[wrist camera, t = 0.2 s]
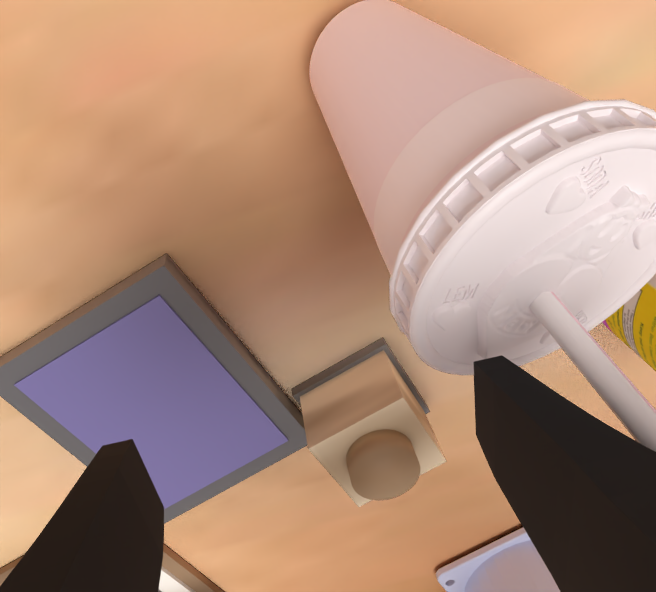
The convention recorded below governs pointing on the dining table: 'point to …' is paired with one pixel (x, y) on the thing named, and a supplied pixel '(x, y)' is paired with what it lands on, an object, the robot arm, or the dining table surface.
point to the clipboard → (175, 580)
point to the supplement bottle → (638, 323)
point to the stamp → (368, 425)
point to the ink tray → (155, 388)
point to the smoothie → (491, 196)
